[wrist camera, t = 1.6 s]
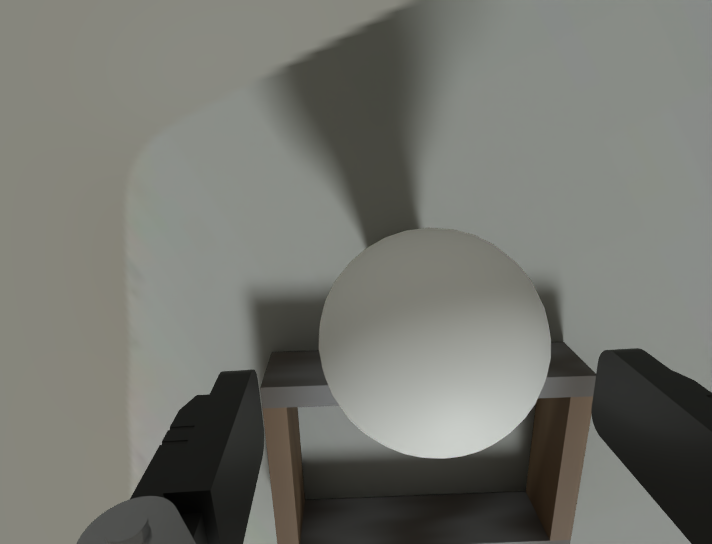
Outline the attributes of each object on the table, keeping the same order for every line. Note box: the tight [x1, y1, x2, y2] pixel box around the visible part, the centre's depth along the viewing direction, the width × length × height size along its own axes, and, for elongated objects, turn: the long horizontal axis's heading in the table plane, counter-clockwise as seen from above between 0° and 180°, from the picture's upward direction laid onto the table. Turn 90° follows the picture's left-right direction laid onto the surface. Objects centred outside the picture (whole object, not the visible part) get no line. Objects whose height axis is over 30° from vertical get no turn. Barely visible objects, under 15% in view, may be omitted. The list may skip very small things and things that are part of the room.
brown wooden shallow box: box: [260, 342, 596, 544], centre depth 21 cm, size 14×10×3 cm
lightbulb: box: [319, 228, 551, 458], centre depth 15 cm, size 6×6×11 cm
